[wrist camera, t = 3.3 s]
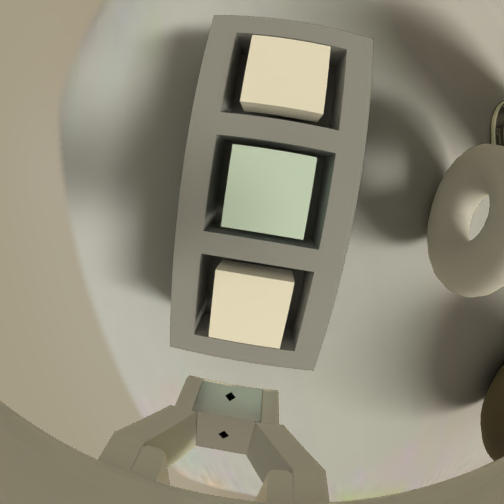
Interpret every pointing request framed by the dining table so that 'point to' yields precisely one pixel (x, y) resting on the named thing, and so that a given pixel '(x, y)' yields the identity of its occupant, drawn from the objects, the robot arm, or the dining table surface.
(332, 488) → the dining table surface
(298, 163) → the key mid
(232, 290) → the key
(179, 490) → the robot arm
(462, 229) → the donut
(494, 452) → the coconut
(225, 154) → the keypad
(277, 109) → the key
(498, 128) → the coffee can
